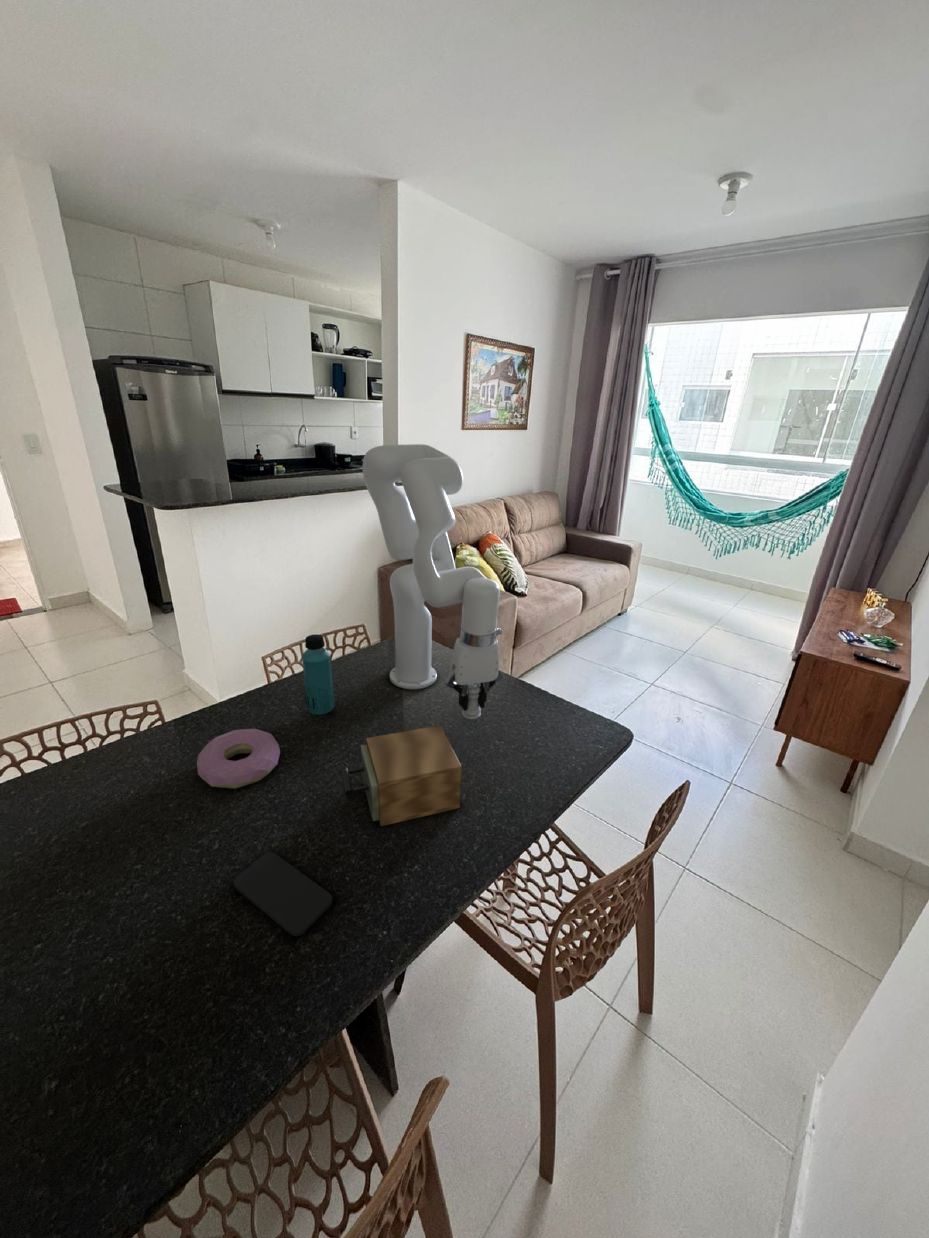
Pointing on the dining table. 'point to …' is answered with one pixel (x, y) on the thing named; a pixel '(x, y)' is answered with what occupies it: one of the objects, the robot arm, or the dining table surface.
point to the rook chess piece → (472, 703)
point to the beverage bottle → (317, 676)
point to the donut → (239, 772)
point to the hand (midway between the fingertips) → (471, 705)
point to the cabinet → (415, 774)
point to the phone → (283, 893)
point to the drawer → (368, 781)
